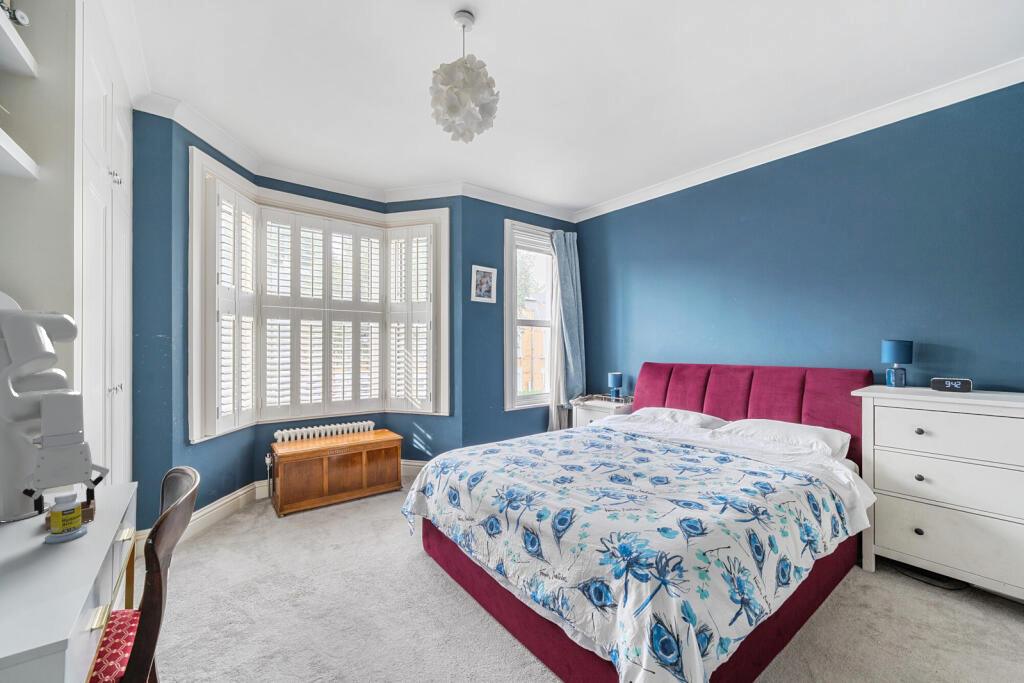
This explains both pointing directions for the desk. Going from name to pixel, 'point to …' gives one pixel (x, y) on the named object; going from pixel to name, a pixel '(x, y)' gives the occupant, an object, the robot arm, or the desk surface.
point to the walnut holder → (86, 513)
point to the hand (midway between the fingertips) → (65, 507)
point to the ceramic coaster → (54, 540)
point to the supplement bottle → (65, 515)
